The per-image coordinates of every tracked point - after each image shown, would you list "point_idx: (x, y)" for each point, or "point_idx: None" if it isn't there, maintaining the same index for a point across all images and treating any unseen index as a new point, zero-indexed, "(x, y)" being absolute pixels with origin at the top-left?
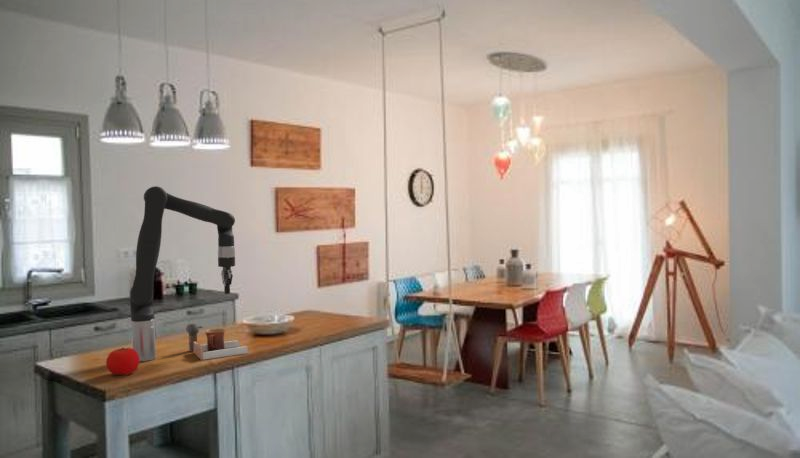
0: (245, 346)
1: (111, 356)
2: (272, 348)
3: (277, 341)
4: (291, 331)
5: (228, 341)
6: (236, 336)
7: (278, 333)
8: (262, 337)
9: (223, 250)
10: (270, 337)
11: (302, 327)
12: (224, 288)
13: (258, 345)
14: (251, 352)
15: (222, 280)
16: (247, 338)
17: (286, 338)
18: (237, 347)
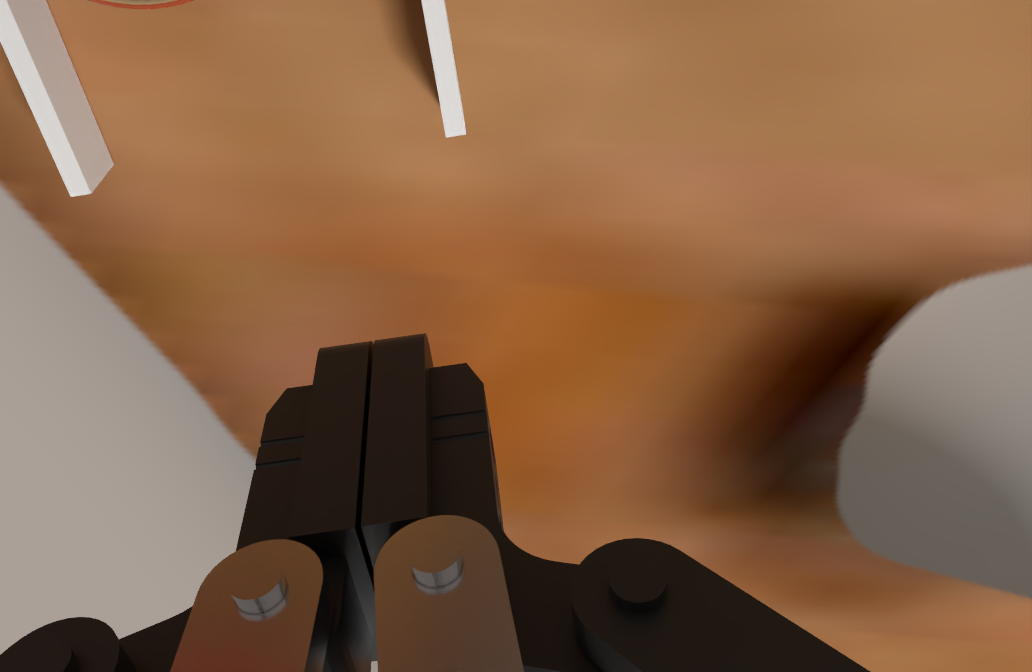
0: (77, 179)
1: None
2: (236, 386)
3: (504, 444)
4: (818, 558)
5: (441, 16)
6: (976, 136)
7: (816, 477)
8: (746, 354)
9: None
10: (700, 411)
11: (901, 627)
12: (386, 443)
13: (418, 293)
14: (123, 206)
15: (808, 643)
16: (797, 230)
17: (581, 509)
18: (45, 89)
